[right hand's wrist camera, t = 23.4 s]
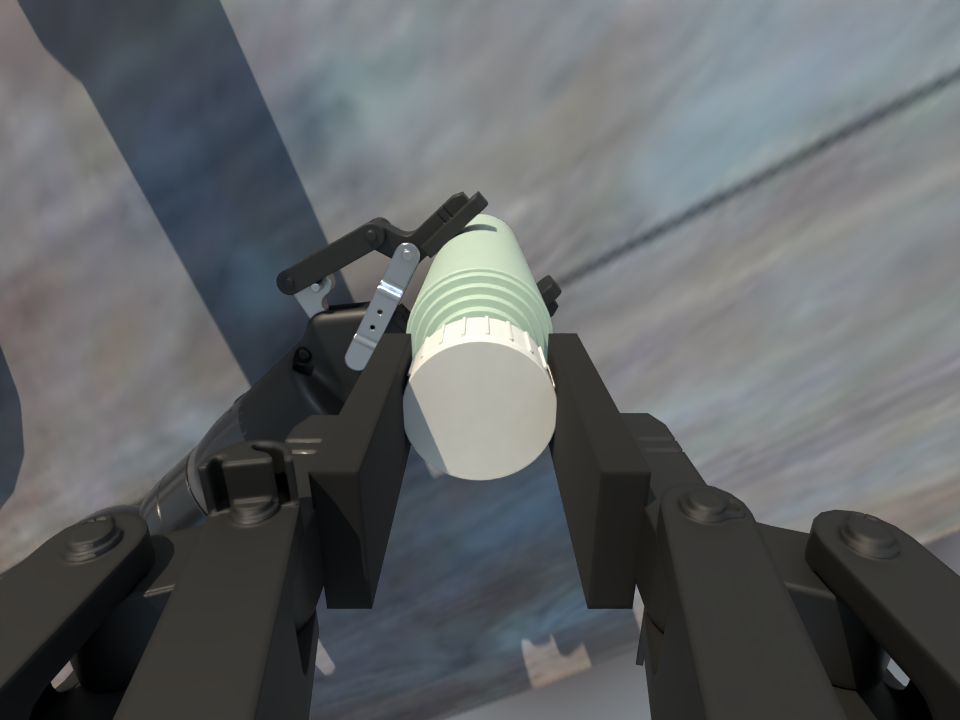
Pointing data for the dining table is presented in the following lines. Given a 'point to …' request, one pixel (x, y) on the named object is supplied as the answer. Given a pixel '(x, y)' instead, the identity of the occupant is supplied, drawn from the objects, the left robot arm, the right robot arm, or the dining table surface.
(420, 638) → the dining table surface
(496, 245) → the bottle
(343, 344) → the left robot arm
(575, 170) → the dining table surface
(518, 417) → the cap
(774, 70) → the dining table surface
